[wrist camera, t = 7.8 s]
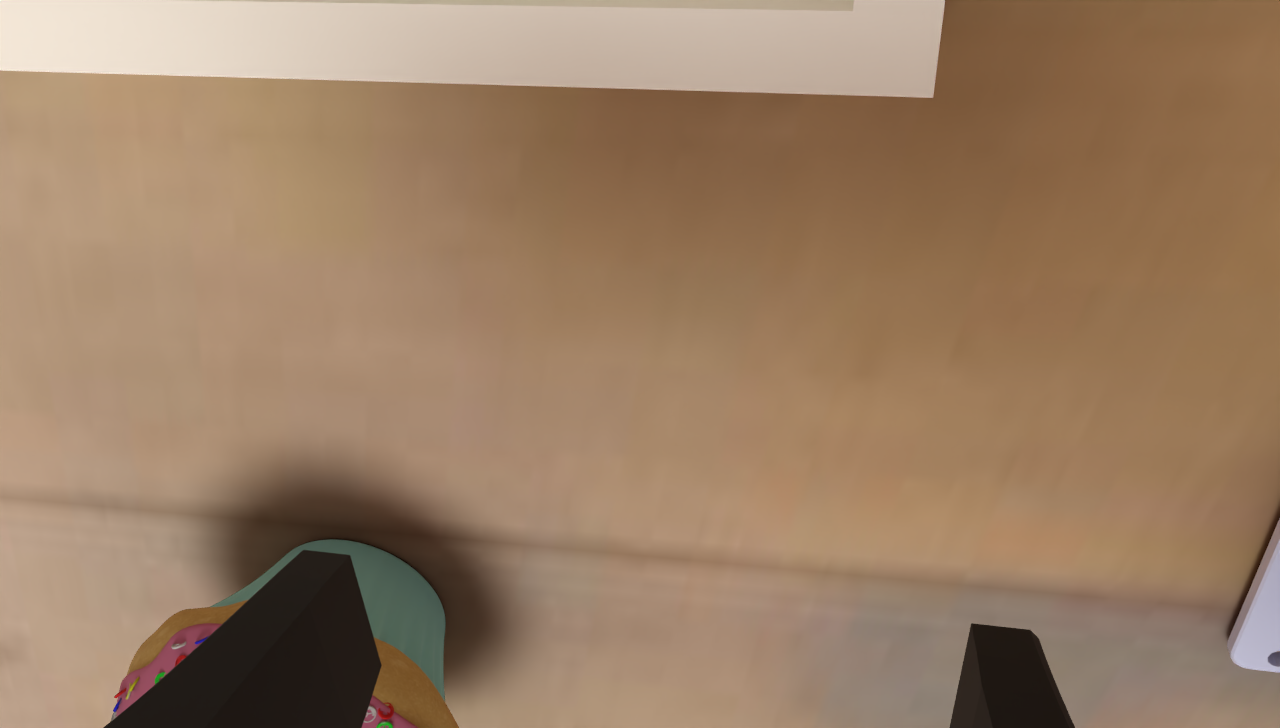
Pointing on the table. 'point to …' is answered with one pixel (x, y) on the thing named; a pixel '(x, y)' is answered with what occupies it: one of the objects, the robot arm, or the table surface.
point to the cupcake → (400, 622)
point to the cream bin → (495, 42)
